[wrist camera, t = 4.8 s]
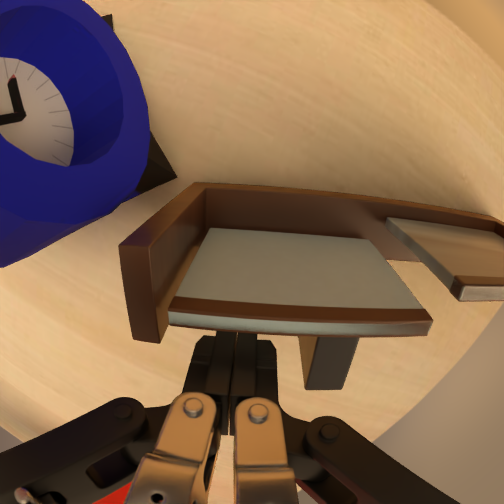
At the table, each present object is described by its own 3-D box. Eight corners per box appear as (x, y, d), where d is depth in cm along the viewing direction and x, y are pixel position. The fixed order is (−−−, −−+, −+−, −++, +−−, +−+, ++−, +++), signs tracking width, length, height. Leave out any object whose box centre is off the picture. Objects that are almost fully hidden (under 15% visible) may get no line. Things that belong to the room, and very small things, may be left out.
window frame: (481, 259, 18) (563, 332, 9) (193, 237, 19) (132, 340, 9) (492, 216, 17) (587, 276, 8) (194, 182, 17) (117, 244, 8)
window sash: (355, 302, 18) (396, 401, 10) (209, 293, 18) (178, 396, 11) (369, 238, 16) (434, 320, 9) (209, 226, 16) (166, 307, 9)
